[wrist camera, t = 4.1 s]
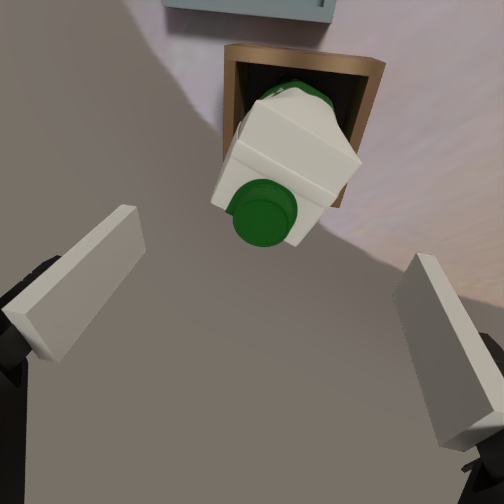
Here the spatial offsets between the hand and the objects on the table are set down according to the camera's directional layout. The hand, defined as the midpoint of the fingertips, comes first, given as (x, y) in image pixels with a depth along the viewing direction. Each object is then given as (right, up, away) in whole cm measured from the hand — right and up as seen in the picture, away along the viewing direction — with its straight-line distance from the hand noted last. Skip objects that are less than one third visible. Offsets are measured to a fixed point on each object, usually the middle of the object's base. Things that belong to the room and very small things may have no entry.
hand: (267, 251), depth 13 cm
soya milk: (+4, +16, +19) cm, 25 cm away
